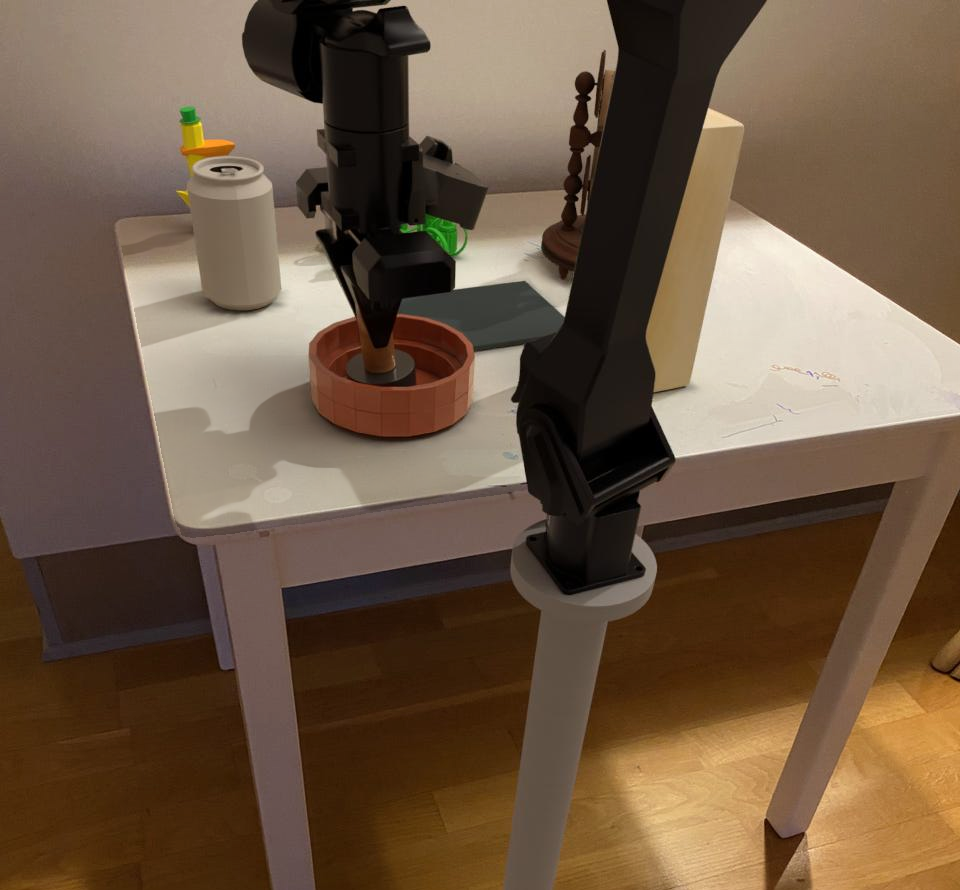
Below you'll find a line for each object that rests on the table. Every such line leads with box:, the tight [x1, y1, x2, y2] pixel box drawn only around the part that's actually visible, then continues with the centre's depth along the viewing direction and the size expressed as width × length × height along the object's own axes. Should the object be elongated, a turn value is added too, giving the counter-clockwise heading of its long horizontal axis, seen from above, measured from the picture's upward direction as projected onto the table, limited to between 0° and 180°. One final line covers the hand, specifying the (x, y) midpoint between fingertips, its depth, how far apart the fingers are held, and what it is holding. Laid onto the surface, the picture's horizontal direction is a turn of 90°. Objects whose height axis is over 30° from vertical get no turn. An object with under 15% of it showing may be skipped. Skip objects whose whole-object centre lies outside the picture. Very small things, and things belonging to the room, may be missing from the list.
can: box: [186, 155, 283, 311], centre depth 87 cm, size 8×8×12 cm
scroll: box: [540, 49, 615, 280], centre depth 95 cm, size 15×15×20 cm
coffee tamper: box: [346, 304, 417, 387], centre depth 74 cm, size 6×6×10 cm
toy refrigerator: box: [646, 107, 745, 393], centre depth 77 cm, size 8×7×21 cm
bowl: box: [308, 314, 476, 437], centre depth 77 cm, size 13×13×4 cm
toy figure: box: [175, 106, 236, 209], centre depth 99 cm, size 7×4×12 cm, turn 116°
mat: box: [398, 280, 565, 352], centre depth 90 cm, size 12×16×1 cm
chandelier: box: [324, 214, 468, 258], centre depth 98 cm, size 15×15×7 cm
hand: (374, 338), depth 74 cm, fingers closed on coffee tamper, 3 cm apart
